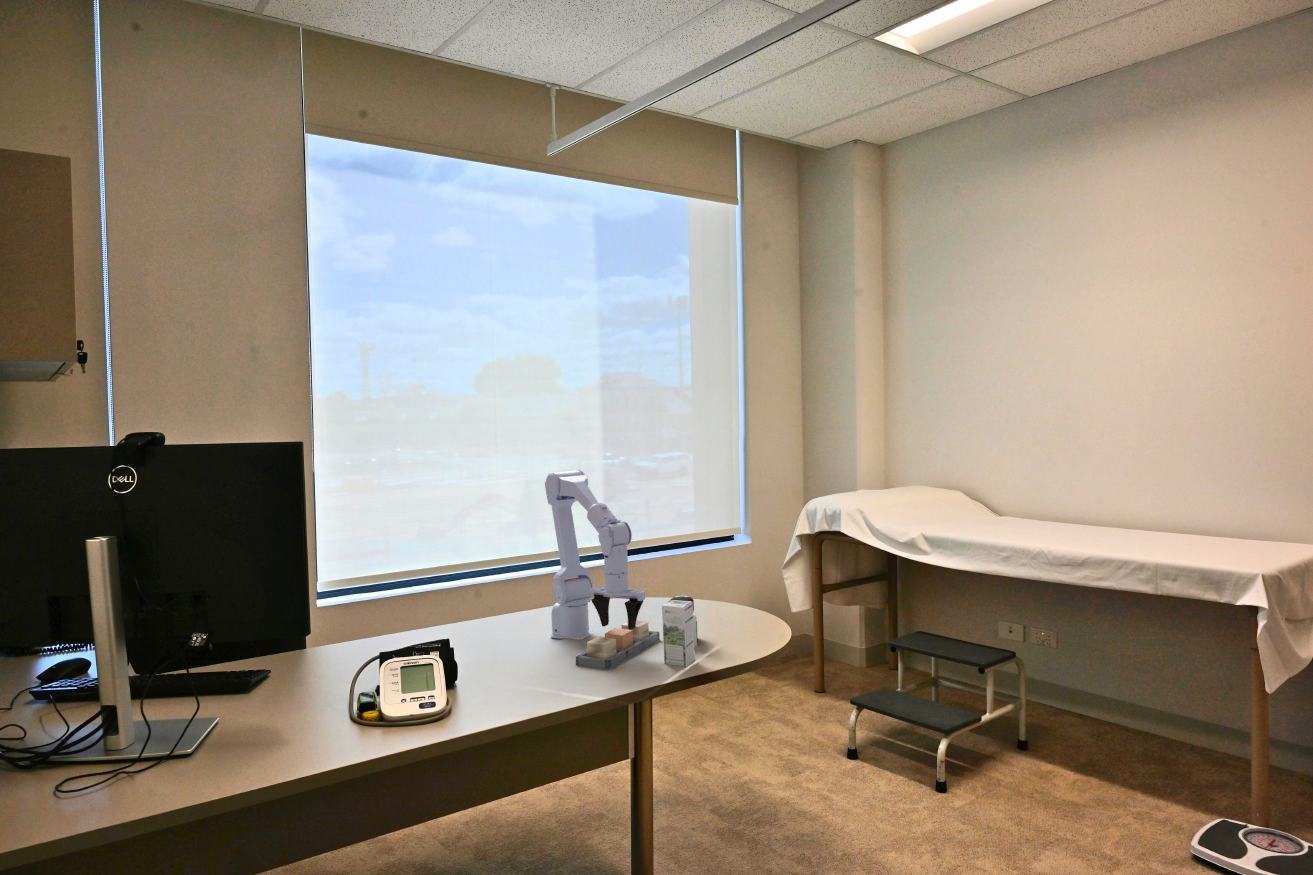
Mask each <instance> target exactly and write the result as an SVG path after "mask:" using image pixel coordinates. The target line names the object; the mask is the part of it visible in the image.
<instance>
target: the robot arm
mask: <svg viewBox="0 0 1313 875" xmlns="http://www.w3.org/2000/svg"><path fill="white" fill-rule="evenodd" d="M544 488H545V494H546V499H547V504H548V505H550V507H551V510H552V518H553V523H554V529H555V530H554V531H555V536H556V543H557V550H558V556H559V562H560V568H559V570H558V571H557V572H556V573H555V574H554V576H553V577H552V580H553V585H552V586H553V587H552V594H553V595H552V596H553V599H554V600H555V601H556V602H555V603H554V604H553V606H552V608H551V634H552V635H550V638H552V639H559V640H560V639H561V640H563V639H569V640H578V641H580V640H582V639H584V638H587V637H589V636H591V635H593V634H594V633H596V631H595V630H590V625H589V624H590V622H589V621H590V620H589V603H591V604H592V605H593V606H594V608H595V610H596V612H597V615H598V616H599V621H600V624H601V627H604V628H605V627H606V626H609V622H610V615H609V611H610V610H609V608H610V600H611V599H612V598H615V599H626V600H627V601H625V602H624V606H625V609H626V614H627V622H628V628H629V630H632V629H634V628H635V625H636V620H637V621H638V616H639V612H640V609H641V607H642V605H643V603H644V600H645V599H646V594H645V591H642V590H639V589H638V590H637V589H633V588H630V586H629V565H628V564H629V562H628V545H629V544H630V543H631V541H632V538H633V537H632V536H633V534H632V529H631V527H630V525H629V523H628V522H626V521H622V520H621V519H618V518H617V517H616V516H615V515H614V513H613V512H612V511H611V510H610V508H609V507H608V506H607V505H606V503H602V502H598V500H597V497H596V496H595V495H594V493H593V492H592V490H591V489H590V487H589V479H588V476H587V474H586V473H585V472H584V471H583V470H582V469H577V470H570V471H559V472H557V471H556V472H555V471H552V472H549V473H548V475H547V477H546V479H545V482H544ZM575 502H578V503H579V504H580V505H581V506H582V507H583V508H584V509H585V511H586V512H587V514H586V518H587V520H588V522H589V523H590V524H591V526H592V527H593V528H594V529H595V530H596V532H597V533H598V542H599V545H600V547H601V553H602V555H603V562H604V586H595V584H594V581H593V580H592V577H591V572H590V570H589V569H587V568H586V567H585V566H583V565H582V564H581V562H580V560H581V559H580V554H579V547H578V541H577V535H576V530H575V523H574V518H573V510H572V506H573V504H574V503H575ZM571 577H572V578H571Z"/></svg>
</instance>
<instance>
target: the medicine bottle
mask: <svg viewBox="0 0 1313 875" xmlns="http://www.w3.org/2000/svg"><path fill="white" fill-rule="evenodd" d="M670 600H678V601H691V602H692V603H693V629H694V647H697V646H699V645H698V644H699V642H698V620H697V612H695V605H694V604H695V603H694V601H695V600H694V598H693V597H691V596H689V595H688V596H687V595H678V596H674V597H671V598H670Z"/></svg>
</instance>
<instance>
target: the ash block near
mask: <svg viewBox="0 0 1313 875" xmlns="http://www.w3.org/2000/svg"><path fill="white" fill-rule="evenodd" d="M586 651H587V657H594V658H601V659H608V658H610V657H612V656H614V655H615V654H617V652H616V639H613V638H605V636H597V637H595V638H593V639H591V640H589V641H587V642H586Z"/></svg>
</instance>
